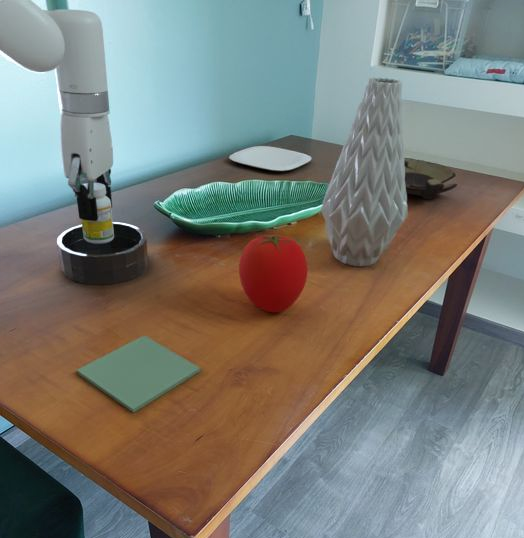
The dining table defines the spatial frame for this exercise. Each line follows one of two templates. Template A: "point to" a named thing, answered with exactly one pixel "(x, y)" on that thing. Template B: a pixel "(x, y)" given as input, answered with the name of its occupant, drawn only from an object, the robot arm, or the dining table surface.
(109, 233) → the supplement bottle
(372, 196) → the vase
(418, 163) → the oil lamp
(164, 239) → the dining table surface
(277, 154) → the plate
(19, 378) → the dining table surface
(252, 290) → the tomato
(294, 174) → the dining table surface
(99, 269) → the pan
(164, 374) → the mat
